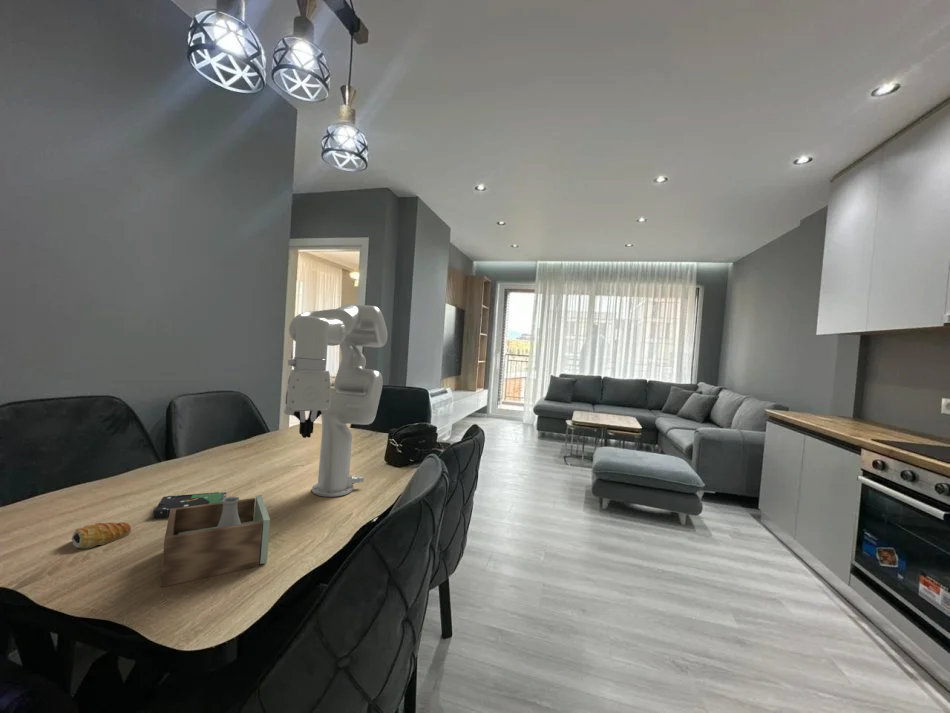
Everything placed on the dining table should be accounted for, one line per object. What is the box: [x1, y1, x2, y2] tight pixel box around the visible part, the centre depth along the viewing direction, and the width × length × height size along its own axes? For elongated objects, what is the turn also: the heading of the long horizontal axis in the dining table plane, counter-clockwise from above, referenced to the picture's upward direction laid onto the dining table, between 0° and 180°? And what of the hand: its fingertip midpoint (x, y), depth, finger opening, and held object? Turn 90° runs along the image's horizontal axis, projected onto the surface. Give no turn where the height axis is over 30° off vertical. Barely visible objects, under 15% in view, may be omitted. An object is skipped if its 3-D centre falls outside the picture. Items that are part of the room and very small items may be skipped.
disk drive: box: [152, 491, 227, 520], centre depth 105 cm, size 10×3×15 cm
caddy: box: [160, 497, 262, 588], centre depth 82 cm, size 16×15×9 cm
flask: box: [217, 496, 241, 528], centre depth 84 cm, size 7×7×10 cm
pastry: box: [71, 522, 132, 550], centre depth 86 cm, size 9×7×4 cm
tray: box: [179, 495, 271, 565], centre depth 83 cm, size 16×15×9 cm
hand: (305, 436), depth 99 cm, fingers closed
